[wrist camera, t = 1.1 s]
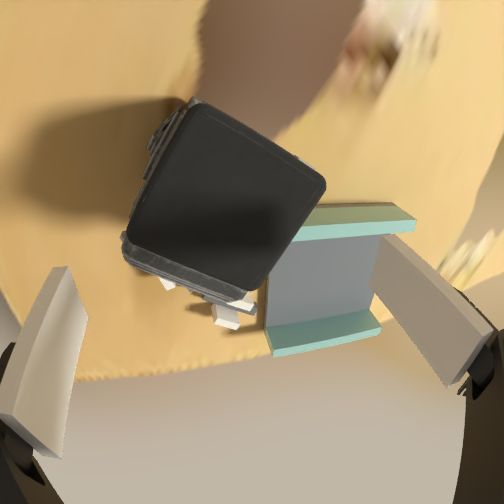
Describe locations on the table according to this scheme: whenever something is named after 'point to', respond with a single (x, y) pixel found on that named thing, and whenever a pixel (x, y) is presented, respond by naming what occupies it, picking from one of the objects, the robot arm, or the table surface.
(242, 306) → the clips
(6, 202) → the table surface
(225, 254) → the camera
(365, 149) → the table surface
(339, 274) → the dock
